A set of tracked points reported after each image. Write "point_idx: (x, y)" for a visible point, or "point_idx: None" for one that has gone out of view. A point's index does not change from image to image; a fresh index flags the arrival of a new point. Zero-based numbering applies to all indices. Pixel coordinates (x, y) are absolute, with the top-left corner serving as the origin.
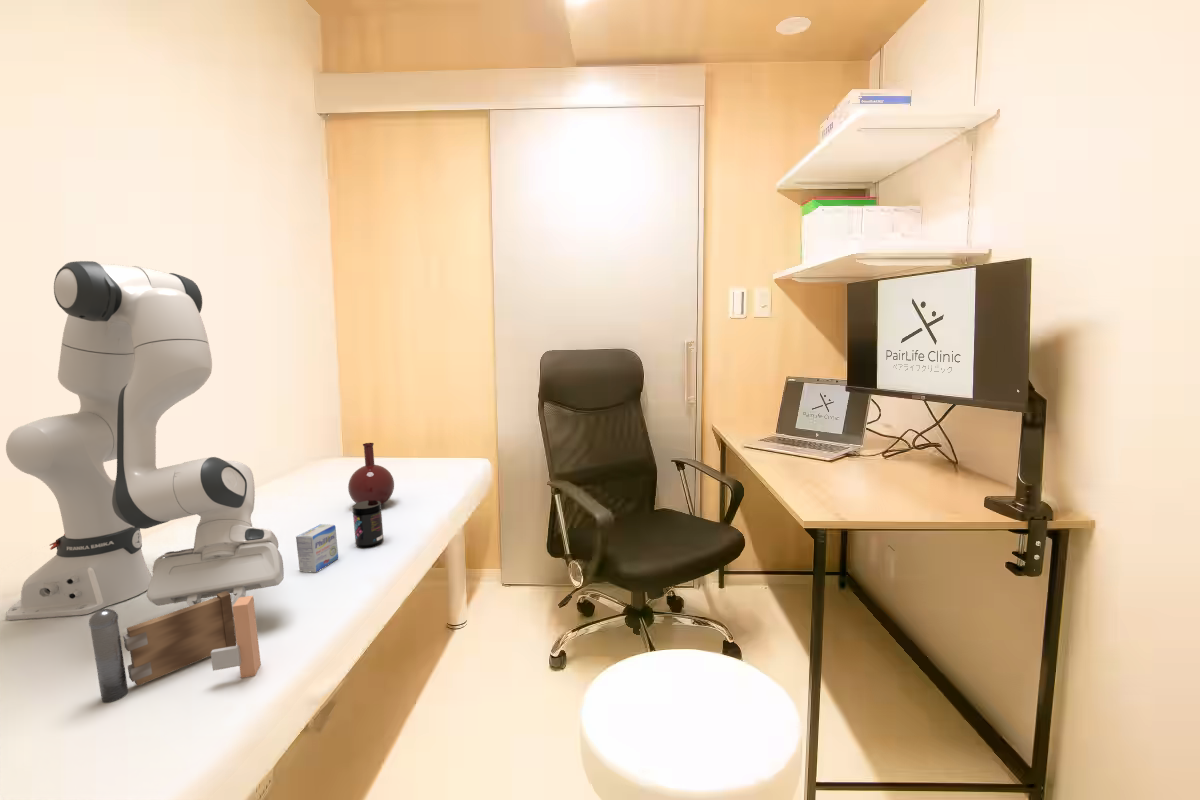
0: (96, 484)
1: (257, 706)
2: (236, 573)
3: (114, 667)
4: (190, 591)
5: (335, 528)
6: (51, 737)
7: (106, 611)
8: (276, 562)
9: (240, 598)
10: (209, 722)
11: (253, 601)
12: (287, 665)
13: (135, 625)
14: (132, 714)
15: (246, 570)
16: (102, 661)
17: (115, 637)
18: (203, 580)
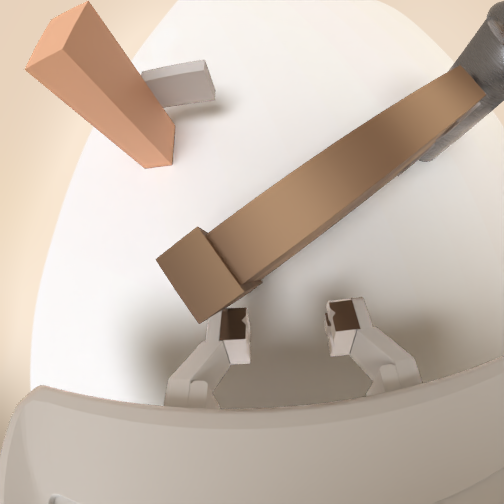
0: None
1: (137, 56)
2: (176, 476)
3: None
4: (420, 390)
5: None
6: (433, 70)
7: None
8: (4, 441)
9: (59, 45)
10: (199, 32)
11: (39, 79)
12: (98, 155)
13: (474, 98)
14: (346, 72)
15: (124, 476)
16: None
17: (467, 49)
18: (375, 454)
